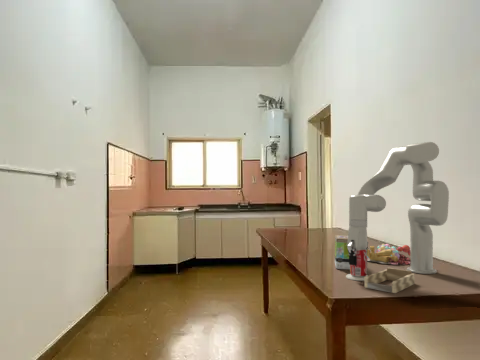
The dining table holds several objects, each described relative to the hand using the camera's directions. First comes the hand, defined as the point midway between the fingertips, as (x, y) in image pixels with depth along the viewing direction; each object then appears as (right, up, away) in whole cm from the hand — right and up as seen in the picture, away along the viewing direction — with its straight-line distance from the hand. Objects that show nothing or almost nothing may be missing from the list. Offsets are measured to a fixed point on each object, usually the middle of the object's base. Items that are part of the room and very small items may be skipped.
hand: (358, 263), depth 166 cm
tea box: (+1, -7, +25) cm, 26 cm away
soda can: (0, -6, 0) cm, 6 cm away
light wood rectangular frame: (+9, -6, -13) cm, 17 cm away
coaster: (0, -6, 0) cm, 6 cm away
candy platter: (+29, -8, +41) cm, 50 cm away
